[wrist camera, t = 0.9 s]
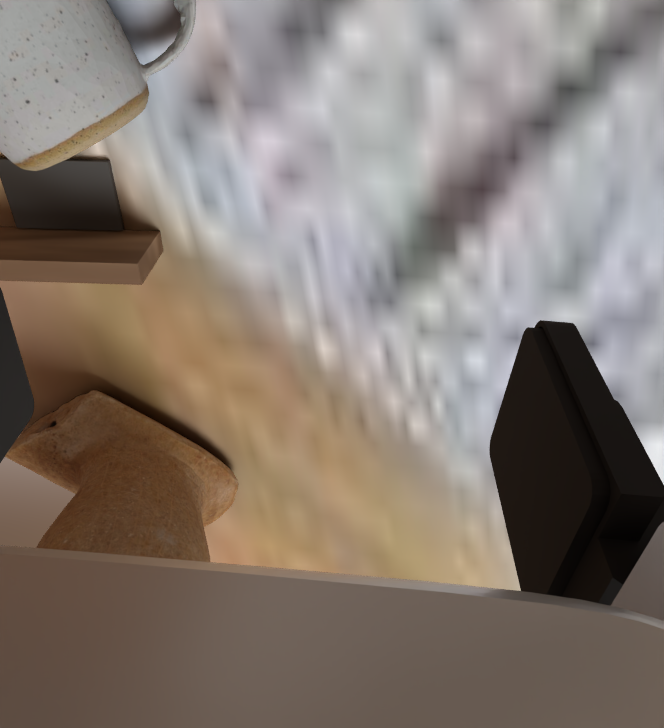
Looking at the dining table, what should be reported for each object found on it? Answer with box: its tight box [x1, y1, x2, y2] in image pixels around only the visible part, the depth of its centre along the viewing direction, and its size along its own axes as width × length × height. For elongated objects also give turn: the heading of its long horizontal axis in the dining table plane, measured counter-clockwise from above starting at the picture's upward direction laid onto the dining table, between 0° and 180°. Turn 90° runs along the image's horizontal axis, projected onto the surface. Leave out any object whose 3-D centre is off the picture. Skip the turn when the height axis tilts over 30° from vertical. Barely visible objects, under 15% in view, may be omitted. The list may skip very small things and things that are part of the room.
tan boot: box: [5, 391, 238, 562], centre depth 38 cm, size 15×12×15 cm
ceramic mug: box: [0, 0, 196, 171], centre depth 24 cm, size 11×8×8 cm
